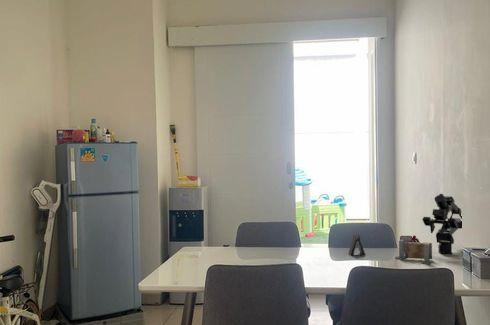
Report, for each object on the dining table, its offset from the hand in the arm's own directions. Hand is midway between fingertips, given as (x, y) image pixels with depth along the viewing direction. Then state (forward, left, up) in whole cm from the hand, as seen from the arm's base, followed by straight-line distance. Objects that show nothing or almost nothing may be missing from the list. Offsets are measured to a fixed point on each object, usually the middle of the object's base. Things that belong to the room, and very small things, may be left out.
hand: (435, 233), depth 258 cm
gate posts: (+17, +13, -14) cm, 25 cm away
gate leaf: (+13, +10, -13) cm, 21 cm away
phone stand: (+45, -5, -14) cm, 47 cm away
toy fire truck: (+11, -13, -14) cm, 22 cm away
